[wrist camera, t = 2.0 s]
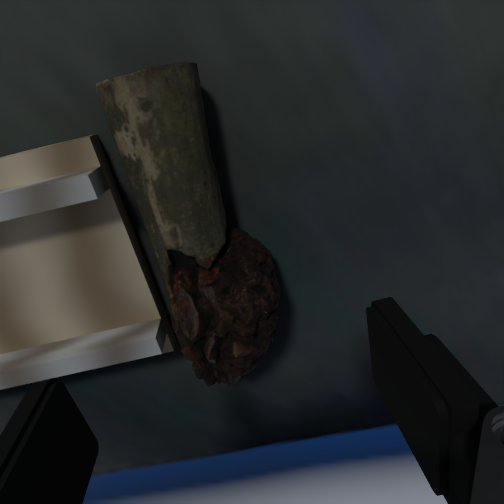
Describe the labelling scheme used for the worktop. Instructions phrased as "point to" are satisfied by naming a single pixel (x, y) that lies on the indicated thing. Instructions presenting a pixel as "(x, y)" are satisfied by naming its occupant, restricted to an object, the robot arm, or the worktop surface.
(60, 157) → the pipe cradle
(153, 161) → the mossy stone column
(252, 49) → the worktop surface
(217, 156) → the worktop surface
